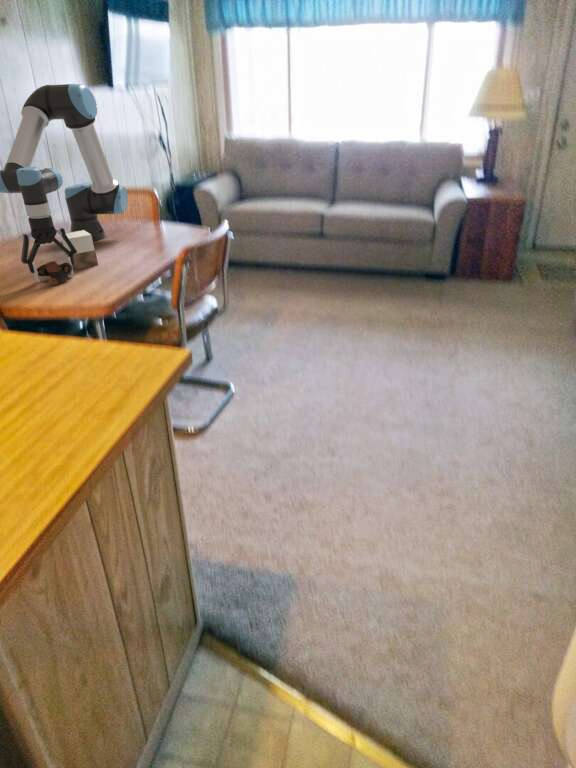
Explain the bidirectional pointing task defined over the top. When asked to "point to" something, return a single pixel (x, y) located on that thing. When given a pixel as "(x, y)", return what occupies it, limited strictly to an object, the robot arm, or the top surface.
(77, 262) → the tower base block
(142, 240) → the top surface
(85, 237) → the tower top block
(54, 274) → the pottery mug
